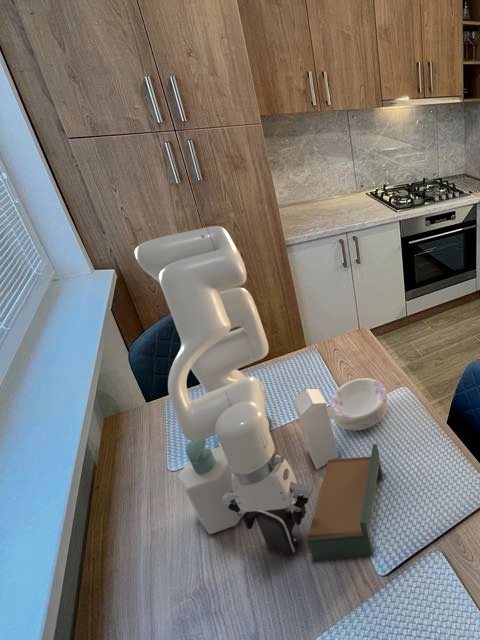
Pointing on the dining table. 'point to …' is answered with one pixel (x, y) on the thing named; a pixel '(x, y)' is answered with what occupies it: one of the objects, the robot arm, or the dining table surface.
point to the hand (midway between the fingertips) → (276, 519)
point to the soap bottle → (208, 485)
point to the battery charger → (278, 529)
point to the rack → (345, 508)
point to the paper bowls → (359, 404)
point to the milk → (316, 426)
